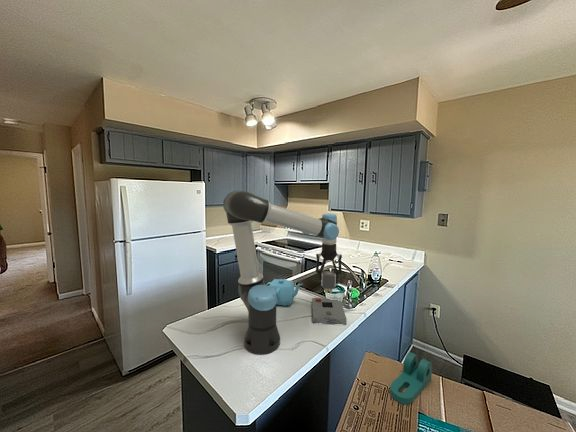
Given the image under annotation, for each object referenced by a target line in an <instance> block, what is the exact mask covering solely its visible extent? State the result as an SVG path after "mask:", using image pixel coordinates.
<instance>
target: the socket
mask: <svg viewBox="0 0 576 432" xmlns="http://www.w3.org/2000/svg"><path fill="white" fill-rule="evenodd" d="M328 298H329V297H328ZM328 298H327V297H312V298H311V310H312V311H311V312H313V313H312V324H313V323H318V325H320V324H319V323H322V324H321V325H335V324H343V325H342V326H347V321H348V319H347V315H346V314H345V313H346V312H345V310H344V307H343V303H342V300H341V301H338V300H330V299H328Z"/></svg>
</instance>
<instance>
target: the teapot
mask: <svg viewBox="0 0 576 432" xmlns="http://www.w3.org/2000/svg"><path fill="white" fill-rule="evenodd" d="M294 283H295V282H294V281H293V280H289V279H287V278H279V279H278V278H273V280H272V281H269V282H267V283H266V284H265V285H267V286H270V287H272V288H273V289H274V290H275V292H276V298H277V302H276V305H278V306H279V305H280V306H282V307H288V306H291V304H292V303H293V300H294V298H295V297H297V296H298V294H299V290H300V287H301V286H302V285H304V283H298V284H296V286H295V284H294ZM287 305H288V306H287Z"/></svg>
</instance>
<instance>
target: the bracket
mask: <svg viewBox="0 0 576 432" xmlns="http://www.w3.org/2000/svg"><path fill="white" fill-rule="evenodd" d="M432 372H433V364H432V362H431V361H428V360H426V359H425V358H422V359H421V360H420V361H419V356H418V354H415V353H413V352H410V351H409V352H408V353H407V354H406V356H405V358H404V360H403V368H402V372H401V373H400V374H399V375H398V376H397V377H396V378H395V379H394V380H393V381H392V382H391V383H390V388H389V394H390V396H391V398H392V399H393V400H394V401H396V403H400V404H401V405H411V404H412V403H413V402H414V401H415V400H416V398H417V397H418V396H419V395H420V394H421V392H422V391H423V390H424V389H425V387H426V386H427V385H428V384H429V383H430V382H431V380H432ZM405 388H406V389H405ZM404 389H405V390H404ZM403 390H404V391H403ZM402 391H403V392H402Z"/></svg>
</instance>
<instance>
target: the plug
mask: <svg viewBox="0 0 576 432" xmlns="http://www.w3.org/2000/svg"><path fill="white" fill-rule="evenodd" d="M322 273H323V286H322V288H323V289H324V293H325V294H327V293H328V292H329V293H330V294H332V293H333V290H335V289H336V287H335V274H334V273H335V270H332V271H330V270H323V271H322Z"/></svg>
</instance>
